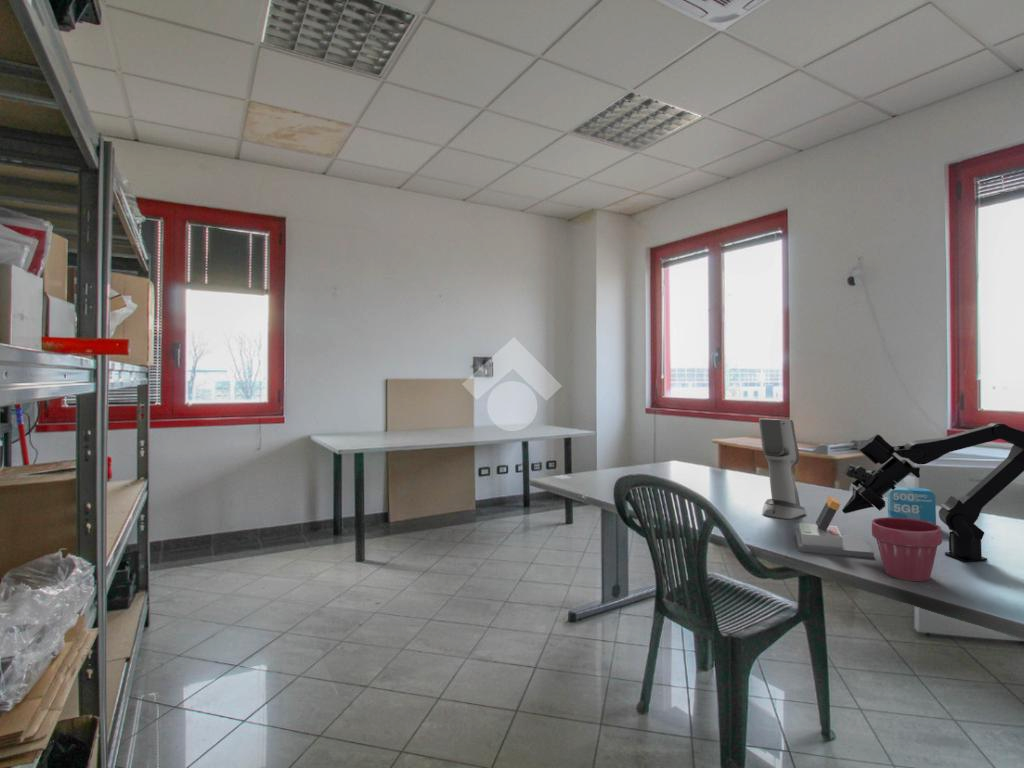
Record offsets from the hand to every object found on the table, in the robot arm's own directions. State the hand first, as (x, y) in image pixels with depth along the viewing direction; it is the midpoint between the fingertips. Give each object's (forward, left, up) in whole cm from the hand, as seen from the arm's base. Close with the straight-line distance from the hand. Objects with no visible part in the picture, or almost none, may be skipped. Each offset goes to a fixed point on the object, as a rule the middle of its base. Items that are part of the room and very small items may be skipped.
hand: (843, 512), depth 156 cm
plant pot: (-22, -1, -10) cm, 24 cm away
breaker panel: (+1, +3, -10) cm, 11 cm away
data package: (+17, -35, -10) cm, 40 cm away
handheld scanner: (+38, -4, -10) cm, 39 cm away
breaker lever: (+3, +5, -5) cm, 8 cm away
